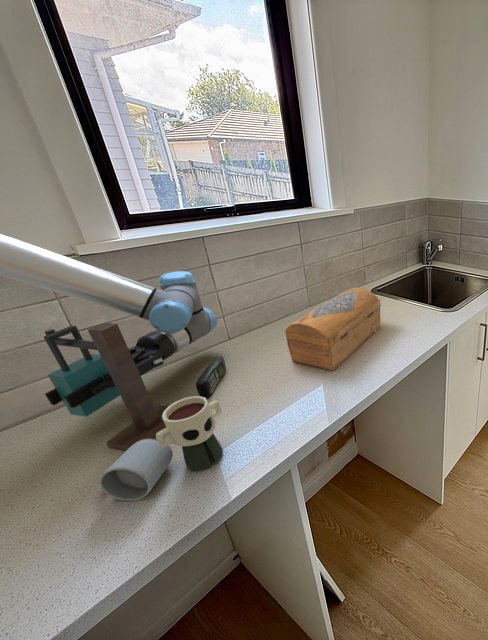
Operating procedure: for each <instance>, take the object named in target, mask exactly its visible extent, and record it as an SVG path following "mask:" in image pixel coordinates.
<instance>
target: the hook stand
mask: <svg viewBox="0 0 488 640" xmlns="http://www.w3.org/2000/svg"><path fill="white" fill-rule="evenodd" d="M54 332H56V330H55V329H54V328H50V329H46V330H45V331H44V332H43V333H44V334H45V336H46V335H49V334H51V333H54ZM87 332H88V333H89V336H90V337H91V340H86V339H83V340H77V339H74V338H68V337H67V338H66V337H58V338H56V339H53V340H54V341H55V343H56V345H57V346H58V347H66V348H74V349H75V348H76V349H80V348H84V349H88V350H93V351H94V350H95V351H97V352H98V355H100V356H101V358H102V360H103V362H104V364H105V366H106V368H107V370H108V372H109V374H110V376H111V378H112V380H113V382H114V384H115V386H116V388H117V390H118V392H119V394H120V396H119V397H120V398H121V400H122V402H123V404H124V406H125V408H126V409H127V412H128V414H129V416H130V418H131V420H132V423H130V424H129V425H128V426H126V427H125V428H123V429H122V430H121V431H120V432H118V433H116V434H115V435H114V436H113V437H111V438H110V439H109V440H107V441H106V442H105V444H106V447H108V448H109V449H112V450H120V451H124V452H125V451H126V450H127V449H129V448H130V447H131V446H132V445H134V444H135V443H136V442H138V441H140V440H143V439H156V434H157V433H158V432H159V431H161V430H163V429H164V428H166V425H165V423H164V421H163V419H162V415H163V412H164V411H165V410H166V409H167V407H168V406H169V405H165V404H158V403H157V404H156V405H155V404H154V403H153V400H152V398H151V396H150V394H149V391H148V389H147V387H146V384H145V383H144V380H143V378H142V375H141V376H140V373H139V371H138V369H137V367H136V365H135V362H134V360H133V358H132V356H131V353H130V351H129V349H130V348H129V347H128V345H127V343H126V340H125V339H124V336H123V333H122V332H121V329H120V326H119V324H118V323H113V322H112V323H111V322H103V323H101V324H98V325H96V326H93V327H91V328H88V329H87Z"/></svg>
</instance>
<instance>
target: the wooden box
mask: <svg viewBox="0 0 488 640" xmlns="http://www.w3.org/2000/svg"><path fill="white" fill-rule="evenodd" d="M379 327H380V328H381V299H379V298H378V296H377V295H376V294H375V293H374V292H372V291H371V290H368V289H366V288H363V287H353V288H349V289H347V290H345V291H342V292H341V293H339V294H337V295H335V296H334V297H333V298H331V299H329V300H327V301H325V302H323V303H321V304H320V305H319V306H317V307H315V308H314V309H313V310H311V311H309V312H308V313H307V314H305V315H303V316H301V317H300V318H298V319H297V320H295V321H294V322H292V323H291V324H289V325H287V327H286V328H285V338H286V343H287V348H288V351H289V354H290V358H291V360H292V362H295V363H298V364H302V365H306V366H311V367H314V368H315V367H316V368H319V369H324V370H329V371H335V370H336V369H337V368H338V367H339V366H340V365H342V364H343V362H344V361H346V360H347V359H348V358H349V357H350V356H351V355H352V354H353V353H354V352H356V350H357V349H358V348H359V347H361V346H362V345H363V344H364V343H365V342H366V341H367V340H368V339H369V338H370V337H371V336H372V335H373V334H374V333H375V332H374V331H375V330H377V329H378V328H379ZM380 328H379V329H380ZM379 329H378V330H379ZM378 330H377V331H378ZM373 332H374V333H373ZM372 333H373V334H372ZM371 334H372V335H371ZM370 335H371V336H370ZM369 336H370V337H369ZM368 337H369V338H368ZM367 338H368V339H367ZM366 339H367V340H366ZM365 340H366V341H365ZM364 341H365V342H364ZM363 342H364V343H363ZM362 343H363V344H362Z"/></svg>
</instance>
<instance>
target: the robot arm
mask: <svg viewBox="0 0 488 640" xmlns="http://www.w3.org/2000/svg"><path fill="white" fill-rule="evenodd" d="M0 276H1V277H3V278H4V277H5V278H7V279H11V280H14V281H18V282H21V283H24V284H27V285H31V286H35V287H38V288H41V289H45V290H48V291H51V292H54V293H58V294H61V295H64V296H67V297H70V298H75V299H77V300H81V301H85V302H87V303H89V304H90V303H91V304H93V305H96V306H97V305H98V306H100V307H104V308H108V309H110V310H114V311H118V312H121V313H124V314H126V315H130V316H134V317H137V318H141V319H143V320H146V321H149V324H150V326H152V327H153V328H154V330H153V331H150V332H148V333H146V334H145V335H142V336H140V337H139V338H138V339H137V341H136V344H135V346H132V347H129V348H128V349H129V351H130V353H131V356H132V358H133V360H134V362H135V365H136V367H137V369H138V371H139V373H140V376H141V377H142V376H143V375H145V374H147V373H148V372H150V371H152V370H154V369H155V368H157V367H160V366H162V365H164V364H165V363H164V361H165V360H167V359H169V358H171V357H172V356H173V355H174V354H176V353H179V352H180V351H181V350H182V349H184V348H186V347H187V346H189V345H191V344H193V343H194V342H196V341H198V340H200V339H202V338H203V337H206V336H207V335H208V334H209V333H211V332H212V331H214V330H215V328H216V327H217V325H218V318H217V316H216V315H215V314H214V311H212V310H211V309H209V308H207V307H203V303H202V300H201V297H200V294H199V289H198V286H197V282H196V281H195V277H194V276H193V273H191V272H189V271H184V270H182V271H181V270H180V271H172V272H167V273H164V274H162V275H161V276H160V277H159V278H158V281H159V285H160V286H159V287H160V289H159V288H157V287H153V286H150V285H147V284H144V283H142V282H139V281H136V280H133V279H130V278H127V277H125V276H122V275H119V274H116V273H114V272H111V271H108V270H105V269H102V268H99V267H97V266H94V265H91V264H88V263H86V262H82V261H80V260H77V259H74V258H71V257H68V256H65V255H63V254H60V253H57V252H54V251H51V250H48V249H45V248H43V247H40V246H37V245H35V244H33V243H32V244H31V243H30V242H26V241H23V240H21V239H17V238H14V237H12V236H10V235H7V236H6V235H3V234H1V233H0ZM201 311H202V312H201ZM103 377H104V379H105V380H103V379H102V378H100V377H99V378H97V379H95V380H94V381H92V382H90V383H88V384H86V385H85V386H83V387H81V388H79V389H77V390H76V391H74V392H72V393H70V394H68V395H66V396H65V399H66V400H67V402H68V404H69V406H70V407H71V408H75V407H76V406H78V405H80V404H81V403H83V402H85V401H86V400H88V399H90V398H91V397H93V396H95V395H96V394H98V393H100V392H102V391H104V390H105V389H107V388H111V387H114V386H115V384H114V382H113V380H112V378H111V376H110V374H105V375H104V374H103ZM44 395H45V397H46V398H47V400H48V402H49V404H50V405H51V406H55V405H57V404H59V403H61V402H63V400H62V399H61V397H60V395H59V393H58V392H57V390H56V388H55V387H54V388H53V389H51V390H49V391H47V392H46V393H44Z"/></svg>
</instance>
